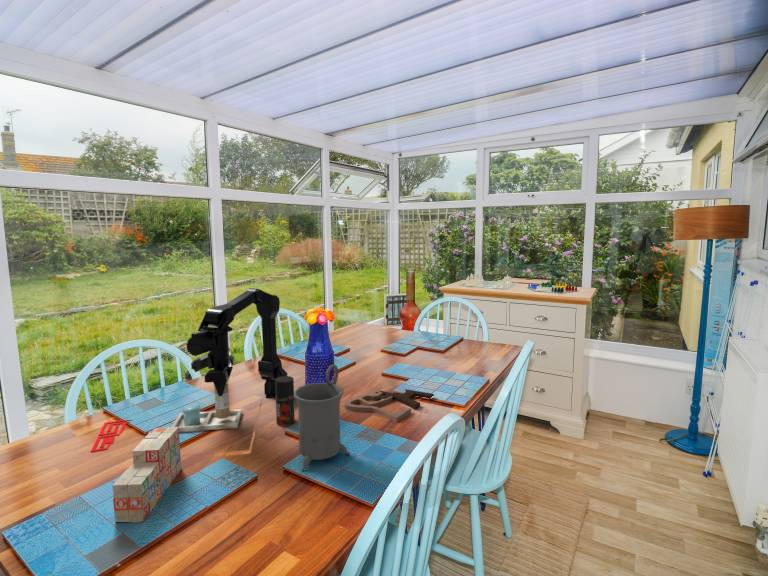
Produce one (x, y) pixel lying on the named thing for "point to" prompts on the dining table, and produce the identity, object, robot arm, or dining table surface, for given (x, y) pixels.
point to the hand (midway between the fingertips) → (221, 393)
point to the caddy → (210, 421)
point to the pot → (191, 415)
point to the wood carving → (383, 399)
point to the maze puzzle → (108, 440)
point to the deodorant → (284, 400)
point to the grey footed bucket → (319, 419)
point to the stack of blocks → (147, 475)
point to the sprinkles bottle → (222, 403)
